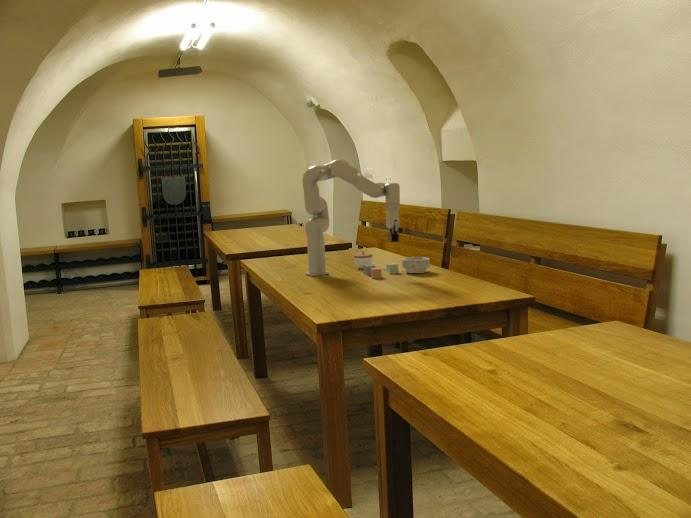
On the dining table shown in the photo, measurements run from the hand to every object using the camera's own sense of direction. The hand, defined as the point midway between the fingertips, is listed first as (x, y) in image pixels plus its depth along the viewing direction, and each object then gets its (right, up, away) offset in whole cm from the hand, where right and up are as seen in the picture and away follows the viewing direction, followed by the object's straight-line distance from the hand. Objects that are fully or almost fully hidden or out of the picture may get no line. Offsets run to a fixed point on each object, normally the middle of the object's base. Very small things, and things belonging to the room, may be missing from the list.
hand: (393, 240), depth 376 cm
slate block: (-12, -18, +11) cm, 25 cm away
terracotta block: (-9, -20, +1) cm, 22 cm away
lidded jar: (-15, -15, +33) cm, 39 cm away
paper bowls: (+13, -18, +12) cm, 25 cm away
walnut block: (0, -1, 0) cm, 1 cm away
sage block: (0, -18, +14) cm, 22 cm away
